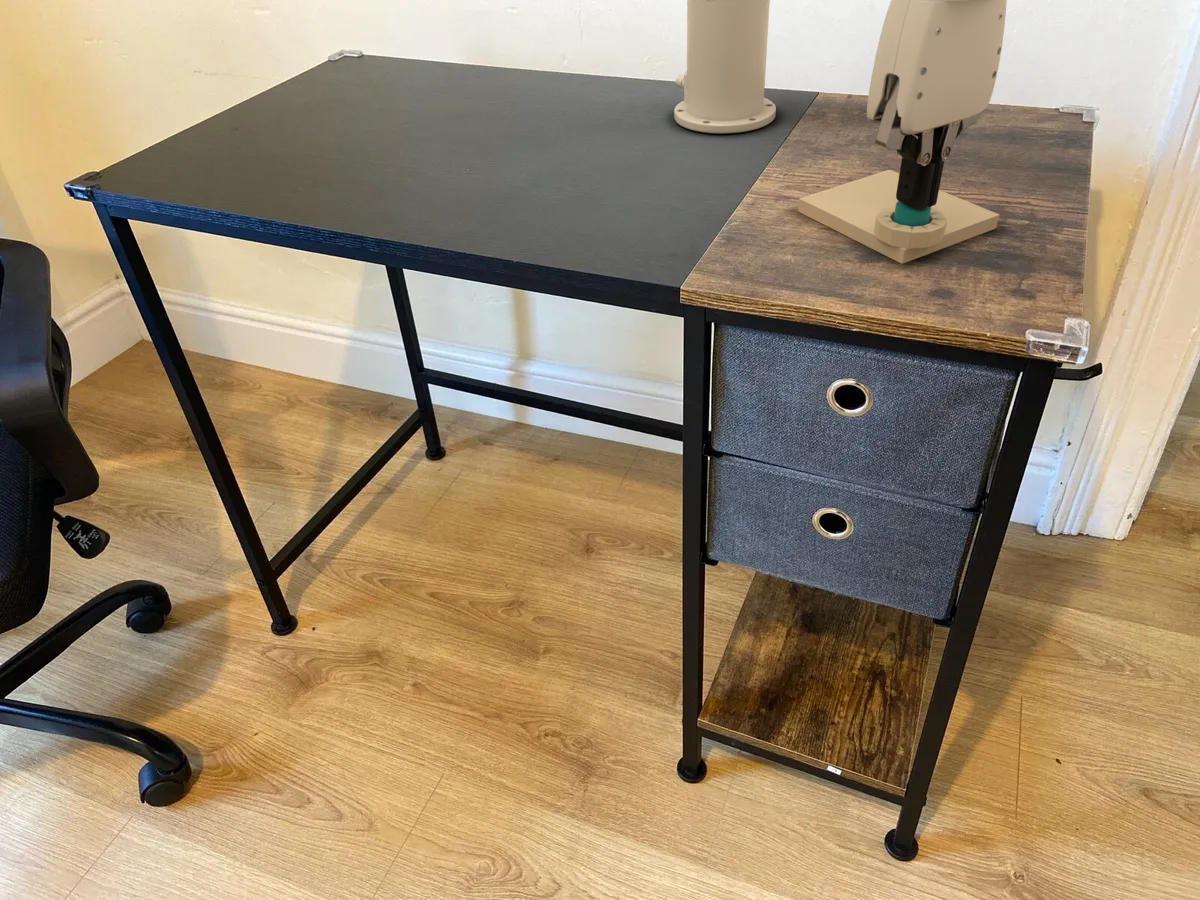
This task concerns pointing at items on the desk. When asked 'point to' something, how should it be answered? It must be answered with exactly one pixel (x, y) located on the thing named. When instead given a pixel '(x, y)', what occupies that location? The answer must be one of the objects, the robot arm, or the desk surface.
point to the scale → (871, 212)
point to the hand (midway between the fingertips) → (915, 202)
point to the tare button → (911, 215)
